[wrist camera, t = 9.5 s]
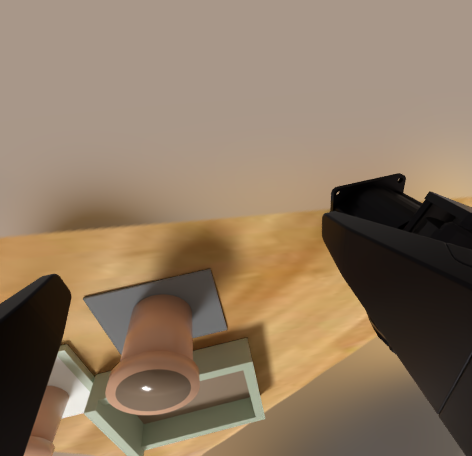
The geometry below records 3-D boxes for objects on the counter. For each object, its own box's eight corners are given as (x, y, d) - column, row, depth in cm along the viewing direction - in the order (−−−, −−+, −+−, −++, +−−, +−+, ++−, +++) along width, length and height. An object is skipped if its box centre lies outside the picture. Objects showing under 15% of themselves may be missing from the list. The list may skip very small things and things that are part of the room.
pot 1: (57, 378, 28) (30, 440, 23) (81, 402, 31) (62, 462, 26) (5, 391, 28) (-34, 456, 23) (34, 414, 31) (6, 477, 26)
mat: (210, 268, 24) (210, 269, 24) (227, 328, 29) (227, 329, 29) (83, 297, 24) (82, 299, 24) (121, 353, 28) (121, 355, 28)
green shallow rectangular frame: (247, 337, 30) (254, 370, 27) (260, 395, 38) (267, 427, 34) (95, 374, 30) (83, 413, 26) (139, 426, 37) (133, 462, 33)
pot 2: (188, 283, 25) (187, 354, 18) (203, 330, 28) (207, 402, 22) (114, 300, 24) (88, 378, 18) (139, 344, 28) (125, 423, 21)
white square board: (66, 344, 26) (64, 350, 26) (114, 400, 33) (113, 406, 32) (-37, 368, 26) (-42, 375, 25) (31, 421, 32) (28, 427, 32)
